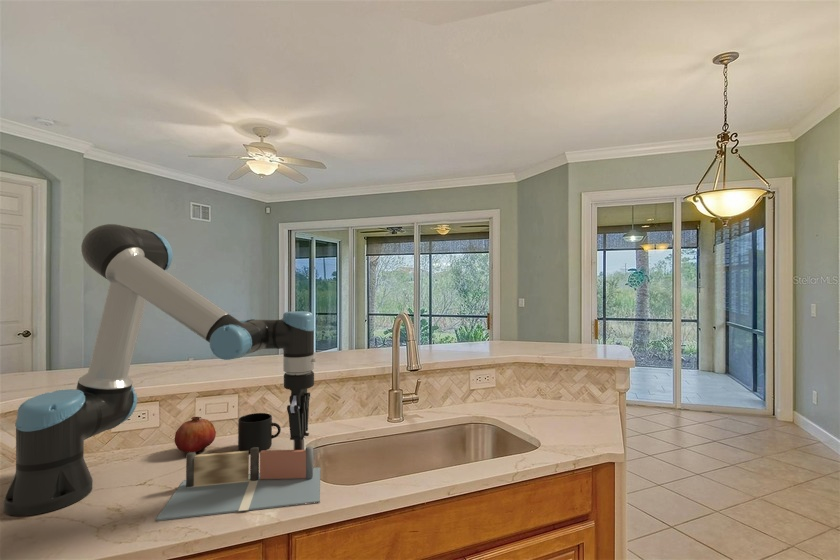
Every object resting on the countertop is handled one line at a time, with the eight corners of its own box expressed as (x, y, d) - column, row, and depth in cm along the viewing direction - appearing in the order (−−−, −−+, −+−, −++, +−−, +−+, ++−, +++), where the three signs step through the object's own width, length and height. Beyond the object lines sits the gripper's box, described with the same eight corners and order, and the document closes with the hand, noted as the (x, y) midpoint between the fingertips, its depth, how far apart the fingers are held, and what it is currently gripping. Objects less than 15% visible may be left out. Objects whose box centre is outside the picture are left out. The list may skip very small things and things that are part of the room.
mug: (279, 451, 124) (279, 420, 124) (235, 455, 121) (235, 423, 121) (281, 439, 133) (281, 411, 133) (240, 443, 130) (241, 414, 130)
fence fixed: (184, 489, 100) (185, 455, 100) (187, 485, 102) (187, 452, 102) (258, 482, 104) (258, 449, 104) (259, 478, 106) (259, 446, 106)
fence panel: (259, 479, 104) (259, 450, 104) (261, 476, 106) (262, 447, 106) (312, 478, 104) (312, 449, 105) (313, 475, 106) (313, 446, 106)
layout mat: (154, 522, 86) (154, 520, 86) (184, 481, 104) (184, 479, 104) (319, 503, 94) (319, 501, 94) (320, 468, 112) (320, 466, 112)
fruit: (217, 443, 130) (217, 410, 130) (212, 455, 121) (213, 420, 121) (178, 447, 127) (179, 413, 127) (170, 460, 117) (171, 424, 117)
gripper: (306, 377, 101) (307, 474, 101) (319, 366, 114) (320, 452, 114) (275, 377, 101) (276, 475, 101) (291, 366, 114) (292, 453, 114)
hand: (299, 463), depth 108 cm, fingers closed
